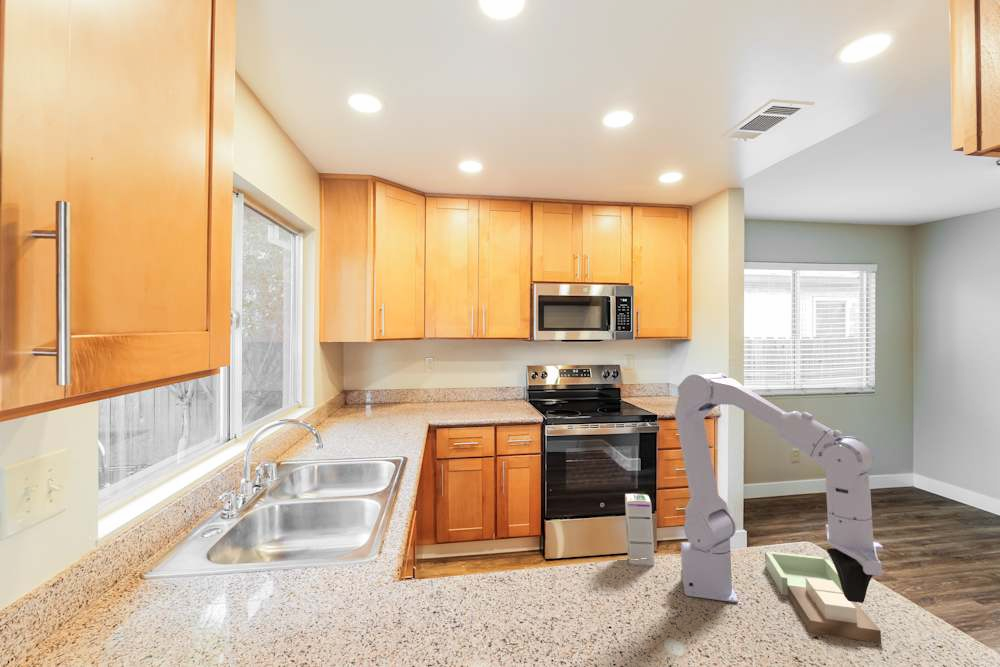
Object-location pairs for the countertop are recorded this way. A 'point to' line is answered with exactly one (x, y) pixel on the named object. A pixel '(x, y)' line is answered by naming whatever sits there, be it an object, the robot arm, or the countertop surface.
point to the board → (821, 625)
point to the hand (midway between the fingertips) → (854, 599)
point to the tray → (799, 569)
